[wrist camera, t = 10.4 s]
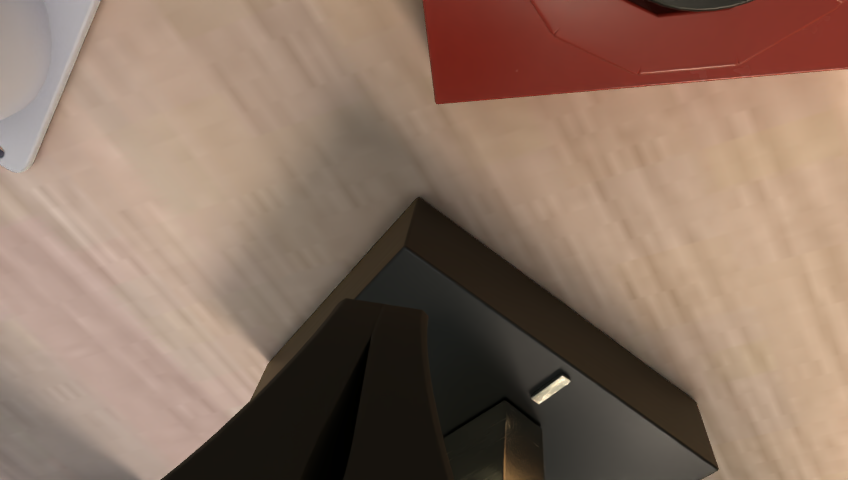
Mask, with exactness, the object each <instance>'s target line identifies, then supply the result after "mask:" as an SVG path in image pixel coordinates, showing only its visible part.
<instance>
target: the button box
mask: <svg viewBox="0 0 848 480" xmlns="http://www.w3.org/2000/svg"><path fill="white" fill-rule="evenodd" d="M423 8H424V16H425V24H426V32H427V40H428V48H429V56H430V64H431V72H432V80H433V88H434V96H435V102H436V104H445V103H457V102H468V101H480V100H492V99H503V98H515V97H527V96H538V95H550V94H562V93H573V92H585V91H597V90H608V89H620V88H632V87H643V86H655V85H667V84H678V83H690V82H702V81H713V80H725V79H737V78H748V77H760V76H772V75H783V74H795V73H807V72H818V71H830V70H842V69H848V0H754V1H752V2H750V3H746V4H743V5H740V6H736V7H733V8H728V9H722V10H716V11H702V12H692V11H681V10H675V9H671V8H667V7H663V6H660V5H658V4H655V3H653V2H650V1H648V0H423Z"/></svg>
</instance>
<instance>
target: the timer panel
mask: <svg viewBox="0 0 848 480" xmlns="http://www.w3.org/2000/svg"><path fill="white" fill-rule="evenodd" d="M345 298H349V299H356V300H362V301H369V302H375V303H382V304H388V305H395V306H401V307H408V308H414V309H421V310H423V311H424V312H425V313H426V314H427V315H428V317H429V318H428V326H427V347H428V359H429V367H430V375H431V382H432V388H433V393H434V398H435V403H436V408H437V413H438V417H439V422H440V427H441V431H442V435H443V438H444V437H446V436H448V435H449V434H451V433H452V432H454V431H456V430H457V429H459V428H460V427H462V426H464V425H465V424H467V423H468V422H470V421H472V420H473V419H475V418H476V417H478V416H480V415H481V414H483V413H484V412H486V411H488V410H489V409H491V408H492V407H494V406H496V405H497V404H499V403H500V402H502V401H504V400H506V401H507V402H509V403H510V404H511V405H512V406H514V407H515V408H516V409H518V410H519V411H520V412H521V413H523V414H524V415H525V416H526V417H528V418H529V419H530V420H532V421H533V422H534V423H535V424H537V425H538V426H539V427H540V428H542V430H543V449H544V468H545V480H701V479H703V478H705V477H707V476H709V475H711V474H712V473H714V472H716V471H718V469H719V468H718V465H717V462H716V459H715V456H714V453H713V450H712V447H711V444H710V441H709V438H708V435H707V432H706V429H705V427H704V424H703V421H702V418H701V415H700V412H699V409H698V406H697V403H696V402H695V401H694V400H693V399H691V398H690V397H689V396H687V395H686V394H685V393H683V392H682V391H681V390H679V389H678V388H677V387H675V386H674V385H672V384H671V383H670V382H668V381H667V380H666V379H664V378H663V377H662V376H660V375H659V374H658V373H656V372H655V371H654V370H652V369H651V368H650V367H648V366H647V365H645V364H644V363H643V362H641V361H640V360H639V359H637V358H636V357H635V356H633V355H632V354H631V353H629V352H628V351H627V350H625V349H624V348H623V347H621V346H620V345H618V344H617V343H616V342H614V341H613V340H612V339H610V338H609V337H608V336H606V335H605V334H604V333H602V332H601V331H600V330H598V329H597V328H595V327H594V326H593V325H591V324H590V323H589V322H587V321H586V320H585V319H583V318H582V317H581V316H579V315H578V314H577V313H575V312H574V311H573V310H571V309H570V308H568V307H567V306H566V305H564V304H563V303H562V302H560V301H559V300H558V299H556V298H555V297H554V296H552V295H551V294H550V293H548V292H547V291H546V290H544V289H543V288H541V287H540V286H539V285H537V284H536V283H535V282H533V281H532V280H531V279H529V278H528V277H527V276H525V275H524V274H523V273H521V272H520V271H519V270H517V269H516V268H514V267H513V266H512V265H510V264H509V263H508V262H506V261H505V260H504V259H502V258H501V257H500V256H498V255H497V254H496V253H494V252H493V251H492V250H490V249H489V248H487V247H486V246H485V245H483V244H482V243H481V242H479V241H478V240H477V239H475V238H474V237H473V236H471V235H470V234H469V233H467V232H466V231H465V230H463V229H462V228H460V227H459V226H458V225H456V224H455V223H454V222H452V221H451V220H450V219H448V218H447V217H446V216H444V215H443V214H442V213H440V212H439V211H437V210H436V209H435V208H433V207H432V206H431V205H429V204H428V203H427V202H425V201H424V200H423V199H421V198H419V197H418V198H417V199H416V200H415V201H414V202H413V203H412V204H411V205H410V206H409V207H408V209H407V210H406V211H405V212H404V213H403V214H402V215H401V216H400V217H399V219H398V220H397V221H396V222H395V223H394V224H393V225H392V226H391V227H390V229H389V230H388V231H387V232H386V233H385V234H384V235H383V236H382V237H381V239H380V240H379V241H378V242H377V243H376V244H375V245H374V246H373V247H372V249H371V250H370V251H369V252H368V253H367V254H366V255H365V256H364V258H363V259H362V260H361V261H360V262H359V263H358V264H357V265H356V266H355V268H354V269H353V270H352V271H351V272H350V273H349V274H348V275H347V276H346V278H345V279H344V280H343V281H342V282H341V283H340V284H339V285H338V286H337V288H336V289H335V290H334V291H333V292H332V293H331V294H330V295H329V296H328V298H327V299H326V300H325V301H324V302H323V303H322V304H321V305H320V307H319V308H318V309H317V310H316V311H315V312H314V313H313V314H312V315H311V317H310V318H309V319H308V320H307V321H306V322H305V323H304V324H303V325H302V327H301V328H300V329H299V330H298V331H297V332H296V333H295V334H294V335H293V337H292V338H291V339H290V340H289V341H288V342H287V343H286V344H285V345H284V347H283V348H282V349H281V350H280V351H279V352H278V353H277V354H276V355H275V357H274V358H273V359H272V360H271V361H270V362H269V363H268V365H267V367H266V369H265V371H264V373H263V375H262V377H261V380H260V382H259V384H258V386H257V388H256V390H255V392H254V394H253V396H252V398H251V400H252V399H253V398H254V397H255V396H256V395H257V394H258V393H259V392H260V391H261V390H262V389H263V388H264V387H265V386H266V385H267V384H268V383H269V382H270V381H271V380H272V379H273V378H274V376H275V375H276V374H277V373H278V372H279V371H280V370H281V369H282V368H283V367H284V366H285V365H286V364H287V363H288V362H289V361H290V360H291V359H292V358H293V357H294V355H295V354H296V353H297V352H298V351H299V350H300V349H301V348H302V346H303V345H304V344H305V343H306V342H307V341H308V340H309V339H310V337H311V336H312V335H313V334H314V333H315V332H316V330H317V329H318V328H319V327H320V326H321V324H322V323H323V322H324V321H325V319H326V318H327V317H328V316H329V314H330V313H331V312H332V311H333V309H334V308H335V307H336V305H337V304H338V303H339V302H340V301H342V300H343V299H345ZM251 400H250V401H251Z"/></svg>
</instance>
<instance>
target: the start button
mask: <svg viewBox="0 0 848 480" xmlns="http://www.w3.org/2000/svg"><path fill="white" fill-rule="evenodd" d="M648 1H650V2H653V3H655V4H658V5H660V6H663V7H667V8H671V9H675V10H681V11H692V12H702V11H716V10H722V9H728V8H733V7H736V6H740V5H743V4H746V3H750V2H752V1H754V0H648Z"/></svg>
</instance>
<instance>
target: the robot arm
mask: <svg viewBox="0 0 848 480" xmlns="http://www.w3.org/2000/svg"><path fill="white" fill-rule="evenodd" d="M100 1H101V0H0V146H1V147H2V148H3V150H4V152H3V151H2V150H1V149H0V165H1V166H3V167H4V168H6V169H8V170H10V171H12V172H15V173H21V172H24V171H26V170H27V169H29V168H30V167H31V166H32V165H33V163H34V160H35V158H36V155H37V153H38V150H39V148H40V146H41V143H42V141H43V138H44V136H45V134H46V131H47V129H48V126H49V124H50V122H51V119H52V117H53V114H54V112H55V110H56V107H57V105H58V102H59V100H60V98H61V95H62V93H63V90H64V88H65V85H66V83H67V81H68V78H69V76H70V73H71V71H72V69H73V66H74V64H75V61H76V59H77V57H78V54H79V52H80V49H81V47H82V45H83V42H84V40H85V37H86V35H87V33H88V30H89V28H90V25H91V23H92V20H93V18H94V16H95V13H96V11H97V8H98V6H99V4H100ZM428 318H429V317H428V315H427V314H426V313H425V312H424V311H423V310H421V309H414V308H408V307H401V306H395V305H388V304H382V303H375V302H369V301H362V300H356V299H349V298H345V299H343V300H342V301H340V302H339V303H338V304H337V305H336V307H335V308H334V309H333V311H332V312H331V313H330V314H329V316H328V317H327V318H326V319H325V321H324V322H323V323H322V324H321V326H320V327H319V328H318V329H317V330H316V332H315V333H314V334H313V335H312V336H311V337H310V339H309V340H308V341H307V342H306V343H305V344H304V345H303V346H302V348H301V349H300V350H299V351H298V352H297V353H296V354H295V355H294V357H293V358H292V359H291V360H290V361H289V362H288V363H287V364H286V365H285V366H284V367H283V368H282V369H281V370H280V371H279V372H278V373H277V374H276V375H275V376H274V378H273V379H272V380H271V381H270V382H269V383H268V384H267V385H266V386H265V387H264V388H263V389H262V390H261V391H260V392H259V393H258V394H257V395H256V396H255V397H254V398H253V399H252V400H251V401H250V402H249V403H248V404H246V405H245V406H244V407H243V408H242V409H241V410H240V411H239V412H238V413H237V414H236V415H235V416H234V417H233V418H232V419H230V420H229V421H228V422H227V423H226V424H225V425H224V426H223V427H222V428H221V429H220V430H219V431H218V432H217V433H216V434H214V435H213V436H212V437H211V438H210V439H209V440H208V441H207V442H205V443H204V444H203V445H202V446H201V447H200V448H198V449H197V450H196V451H195V452H194V453H193V454H191V455H190V456H189V457H188V458H187V459H186V460H184V461H183V462H182V463H181V464H180V465H178V466H177V467H176V468H175V469H173V470H172V471H171V472H170V473H168V474H167V475H166V476H165V477H164V478H162V479H161V480H454V476H453V472H452V469H451V465H450V462H449V458H448V455H447V451H446V447H445V443H444V439H443V435H442V431H441V427H440V422H439V417H438V413H437V408H436V403H435V398H434V393H433V388H432V382H431V375H430V367H429V359H428V347H427V326H428Z"/></svg>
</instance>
